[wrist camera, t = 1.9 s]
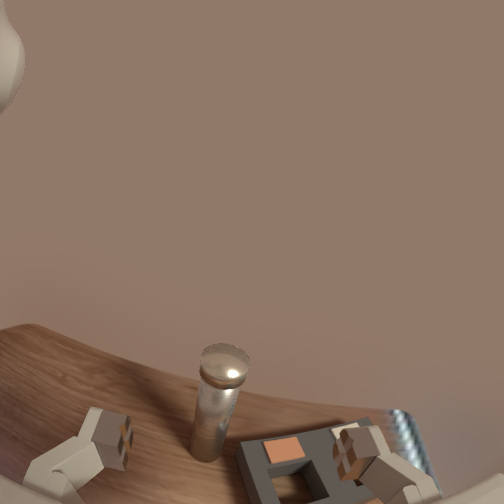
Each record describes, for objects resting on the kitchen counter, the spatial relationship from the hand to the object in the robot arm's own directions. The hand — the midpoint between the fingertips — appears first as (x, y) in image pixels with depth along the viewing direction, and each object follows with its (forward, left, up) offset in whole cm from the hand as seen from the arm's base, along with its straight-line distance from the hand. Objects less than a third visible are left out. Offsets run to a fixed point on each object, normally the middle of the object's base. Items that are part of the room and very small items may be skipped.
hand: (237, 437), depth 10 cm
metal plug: (+3, +10, -19) cm, 22 cm away
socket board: (+14, +4, -19) cm, 24 cm away
